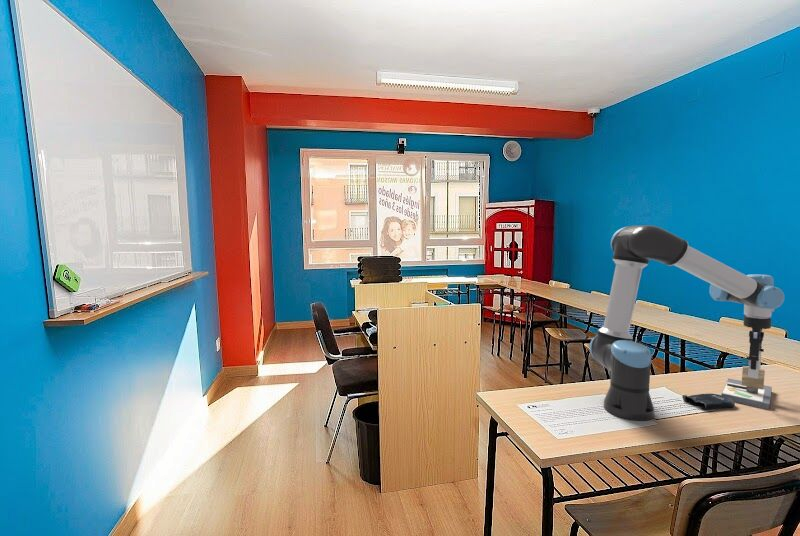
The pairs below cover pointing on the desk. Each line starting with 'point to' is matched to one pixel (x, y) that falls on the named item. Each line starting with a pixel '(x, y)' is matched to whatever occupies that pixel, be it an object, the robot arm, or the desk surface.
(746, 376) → the wooden block with bar
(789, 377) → the desk surface
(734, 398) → the board
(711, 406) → the dark grey hollow piece
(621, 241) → the robot arm
